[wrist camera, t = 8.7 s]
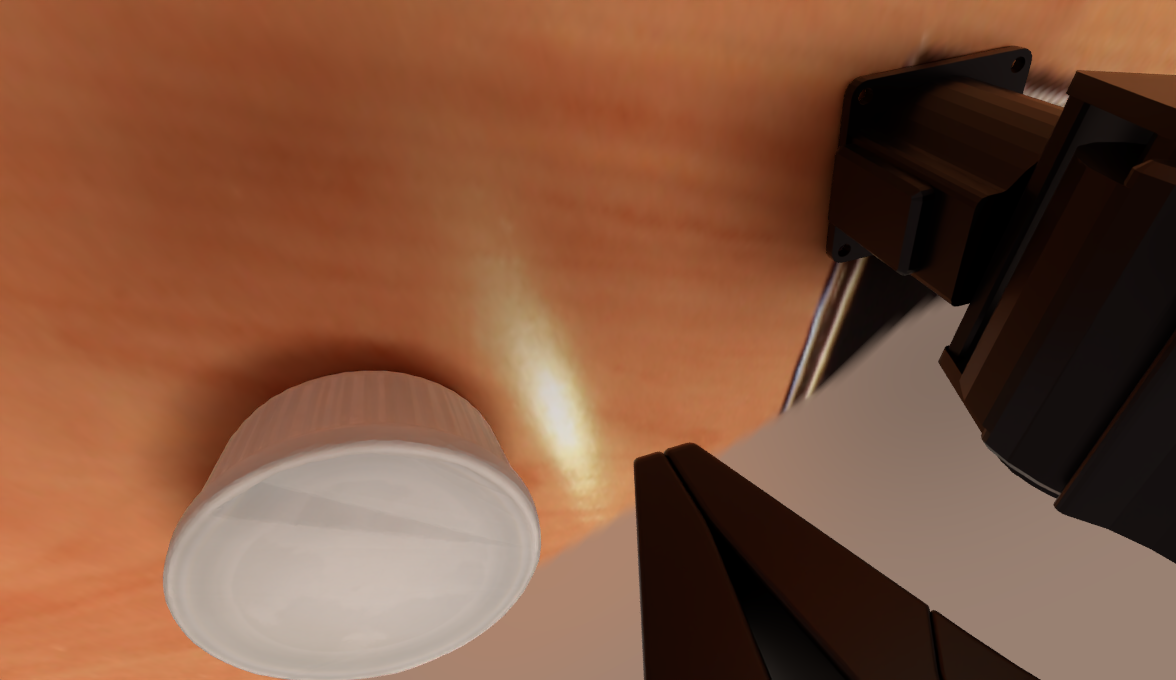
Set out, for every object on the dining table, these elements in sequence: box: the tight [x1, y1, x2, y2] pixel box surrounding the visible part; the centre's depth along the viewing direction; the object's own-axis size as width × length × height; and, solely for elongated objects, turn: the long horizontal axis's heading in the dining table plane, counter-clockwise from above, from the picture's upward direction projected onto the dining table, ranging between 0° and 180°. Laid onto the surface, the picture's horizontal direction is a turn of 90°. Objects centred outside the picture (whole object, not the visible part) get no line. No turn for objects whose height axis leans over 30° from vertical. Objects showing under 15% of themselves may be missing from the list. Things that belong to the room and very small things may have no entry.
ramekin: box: [163, 371, 541, 680], centre depth 22 cm, size 11×11×5 cm
